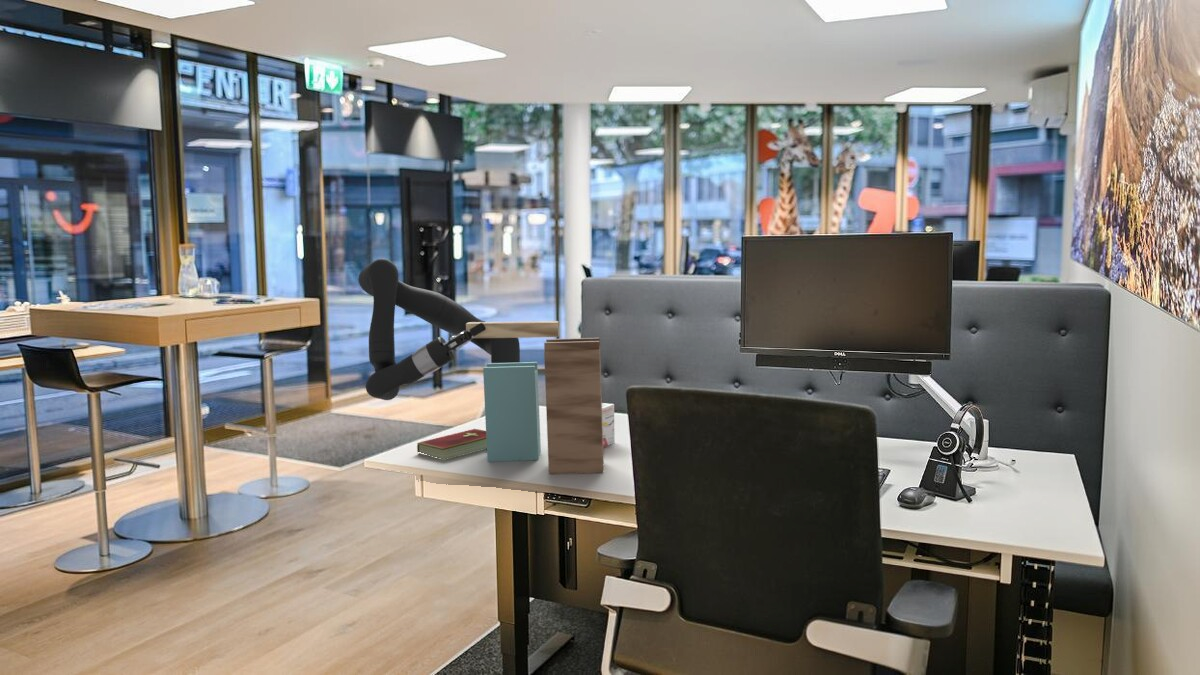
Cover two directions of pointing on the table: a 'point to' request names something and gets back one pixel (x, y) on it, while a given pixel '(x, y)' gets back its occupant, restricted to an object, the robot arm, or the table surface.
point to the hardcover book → (454, 444)
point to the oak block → (517, 329)
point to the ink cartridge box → (608, 424)
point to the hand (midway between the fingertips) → (485, 324)
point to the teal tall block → (512, 411)
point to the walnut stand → (574, 405)
